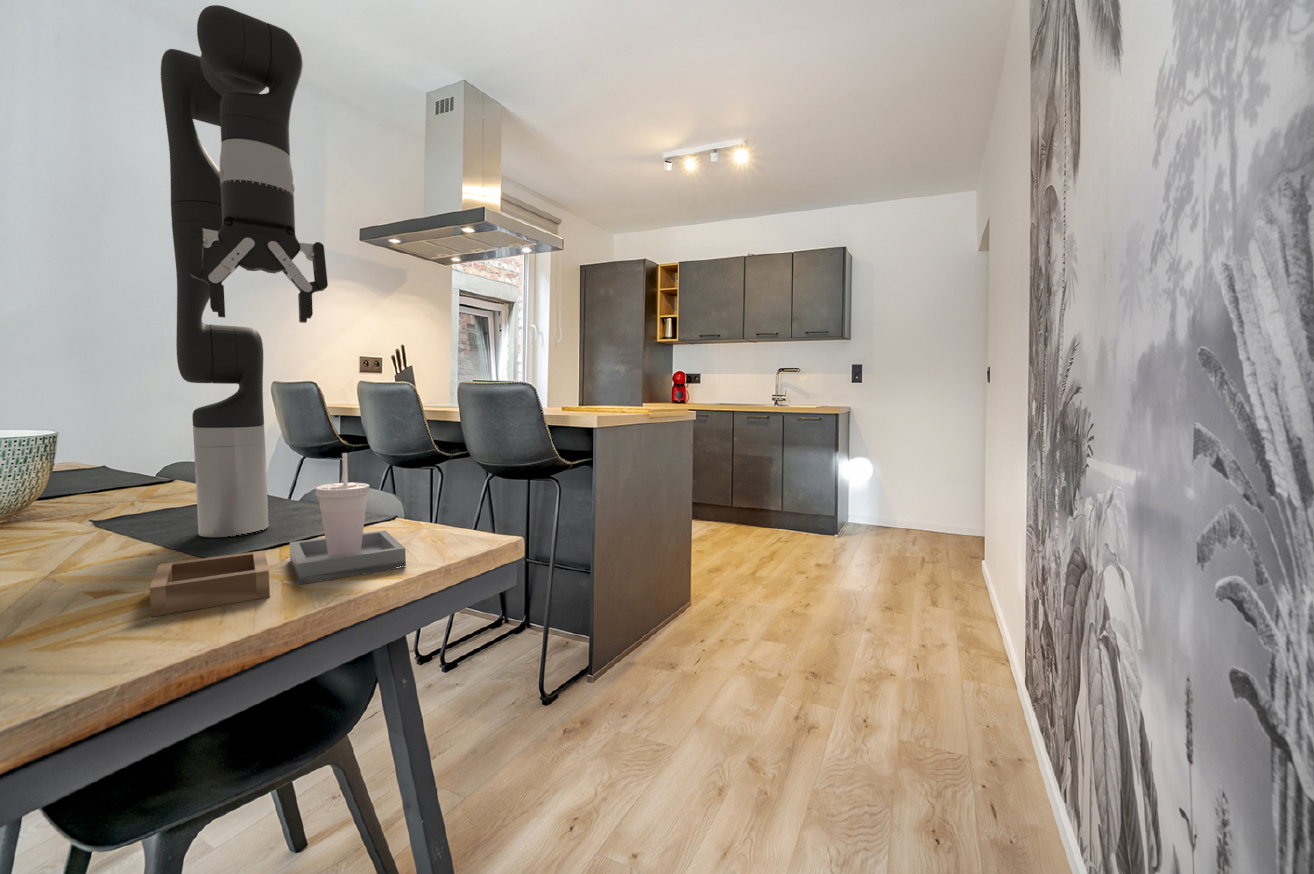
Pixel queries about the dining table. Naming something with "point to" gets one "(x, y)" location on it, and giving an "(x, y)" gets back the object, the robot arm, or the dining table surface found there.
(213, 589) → the holder
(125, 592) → the dining table surface
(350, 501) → the smoothie
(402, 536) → the dining table surface
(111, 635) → the dining table surface
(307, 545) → the tray
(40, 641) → the dining table surface
